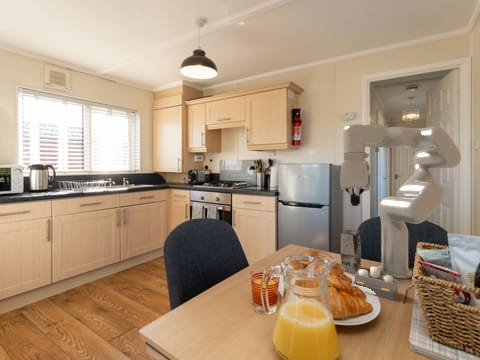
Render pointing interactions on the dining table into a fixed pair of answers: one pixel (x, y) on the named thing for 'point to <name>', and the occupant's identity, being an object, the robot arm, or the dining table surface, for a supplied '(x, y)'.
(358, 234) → the coffee box
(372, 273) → the middle button
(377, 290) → the button board
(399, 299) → the dining table surface
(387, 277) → the end button
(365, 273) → the end button
